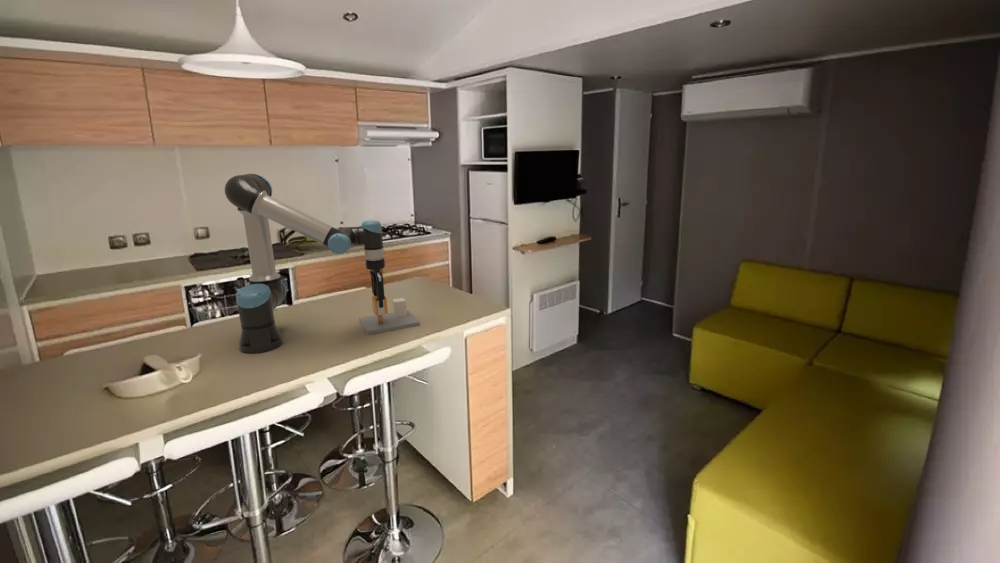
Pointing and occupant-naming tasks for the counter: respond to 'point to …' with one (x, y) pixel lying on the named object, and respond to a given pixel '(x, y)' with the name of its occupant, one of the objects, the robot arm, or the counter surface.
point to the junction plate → (390, 319)
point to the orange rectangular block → (375, 308)
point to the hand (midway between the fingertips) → (380, 312)
